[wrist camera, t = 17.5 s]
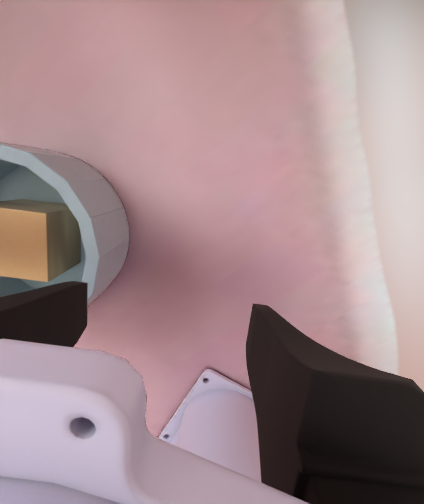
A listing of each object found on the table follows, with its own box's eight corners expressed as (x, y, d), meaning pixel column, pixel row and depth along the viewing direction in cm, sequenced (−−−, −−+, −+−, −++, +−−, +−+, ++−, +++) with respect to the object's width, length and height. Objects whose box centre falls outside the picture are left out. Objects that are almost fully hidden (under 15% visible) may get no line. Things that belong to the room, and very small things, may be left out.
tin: (114, 315, 24) (80, 359, 18) (-25, 278, 24) (-103, 310, 18) (144, 177, 21) (115, 177, 16) (-14, 131, 21) (-103, 114, 15)
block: (80, 262, 23) (48, 282, 18) (24, 255, 23) (-21, 273, 18) (81, 206, 22) (46, 213, 17) (22, 198, 22) (-28, 204, 17)
